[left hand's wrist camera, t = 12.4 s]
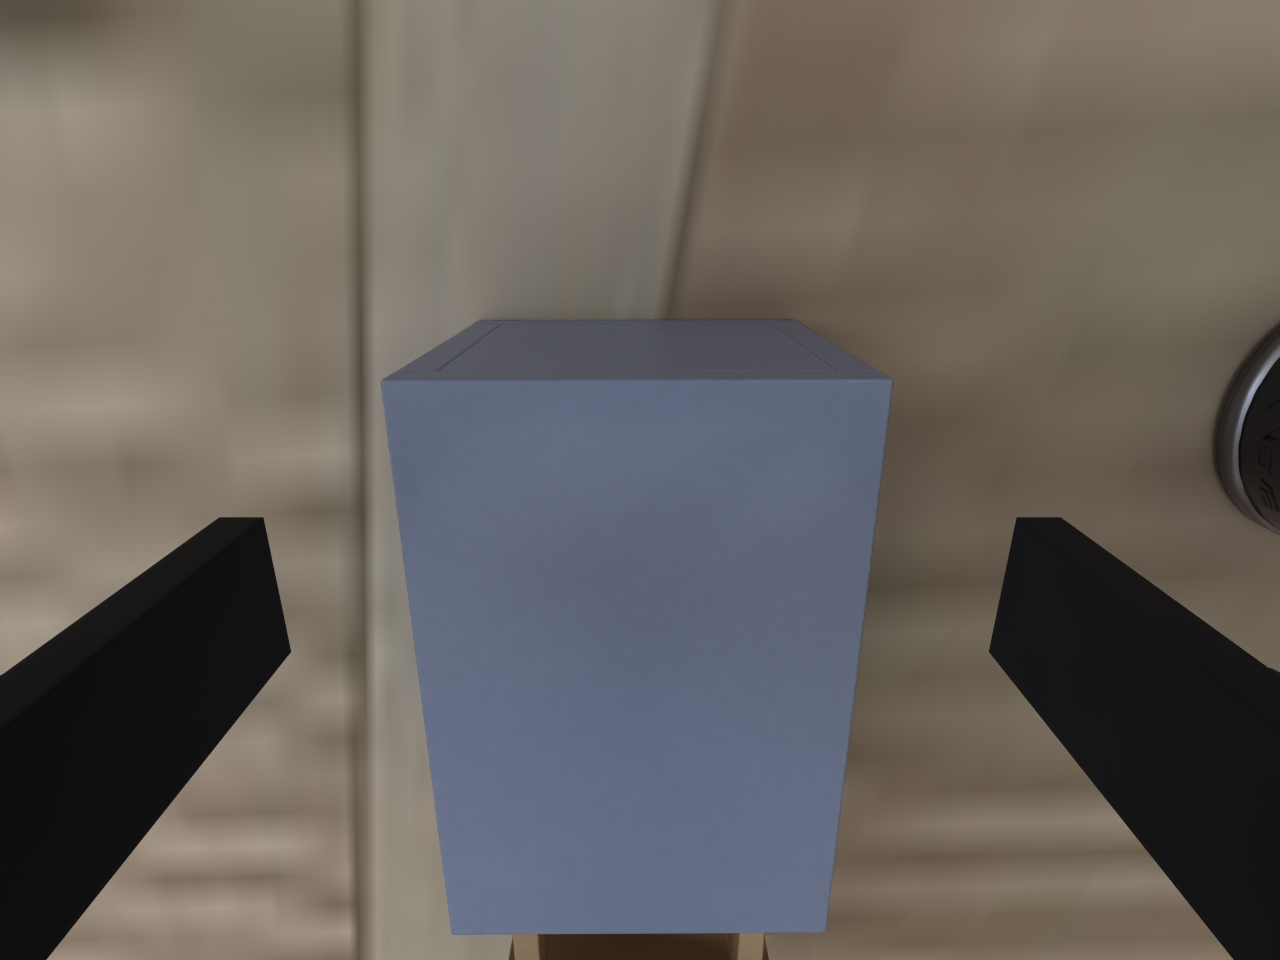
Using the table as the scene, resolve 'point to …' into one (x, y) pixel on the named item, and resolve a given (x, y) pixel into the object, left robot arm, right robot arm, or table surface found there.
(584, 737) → the cabinet
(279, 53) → the table surface
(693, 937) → the drawer
